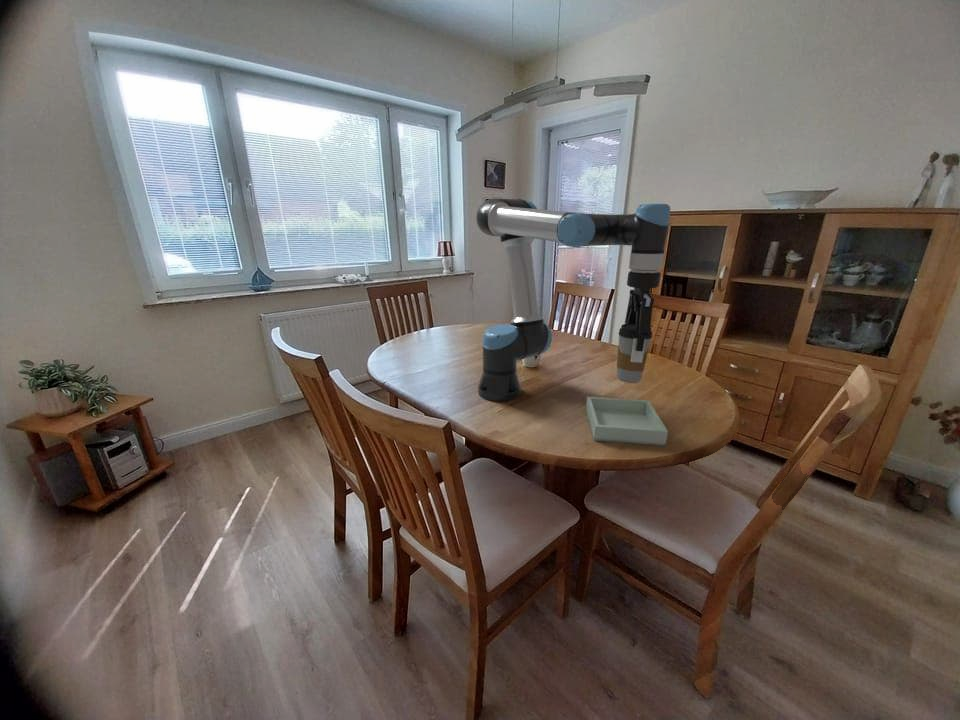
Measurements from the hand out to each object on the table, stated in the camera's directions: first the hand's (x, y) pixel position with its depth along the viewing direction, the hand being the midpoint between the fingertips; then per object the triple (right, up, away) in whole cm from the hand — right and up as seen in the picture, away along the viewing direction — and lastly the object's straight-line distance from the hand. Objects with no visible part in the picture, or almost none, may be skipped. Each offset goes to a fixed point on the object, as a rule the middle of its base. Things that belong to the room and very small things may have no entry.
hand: (632, 356), depth 98 cm
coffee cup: (0, -7, +2) cm, 7 cm away
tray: (0, -20, +7) cm, 22 cm away
